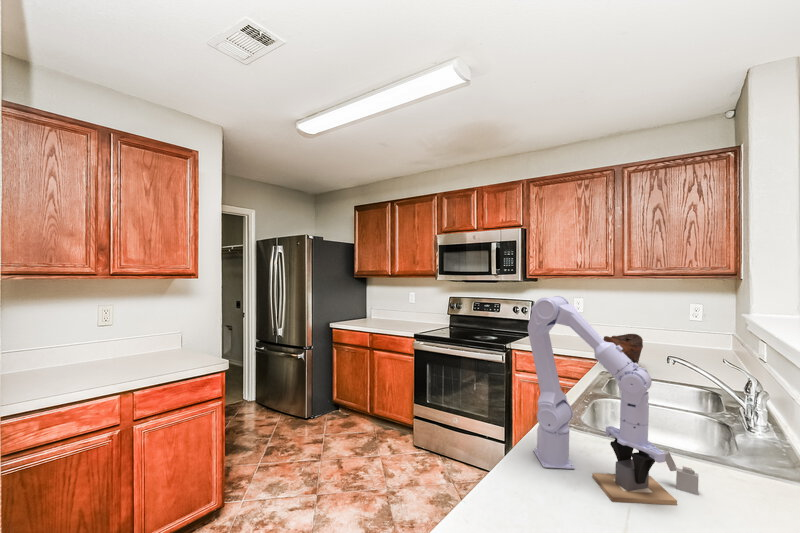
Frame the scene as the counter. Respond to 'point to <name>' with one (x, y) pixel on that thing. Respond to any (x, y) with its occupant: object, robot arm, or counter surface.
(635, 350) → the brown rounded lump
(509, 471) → the counter surface
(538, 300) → the robot arm
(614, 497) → the board
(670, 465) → the lighter
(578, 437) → the counter surface
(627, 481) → the block
